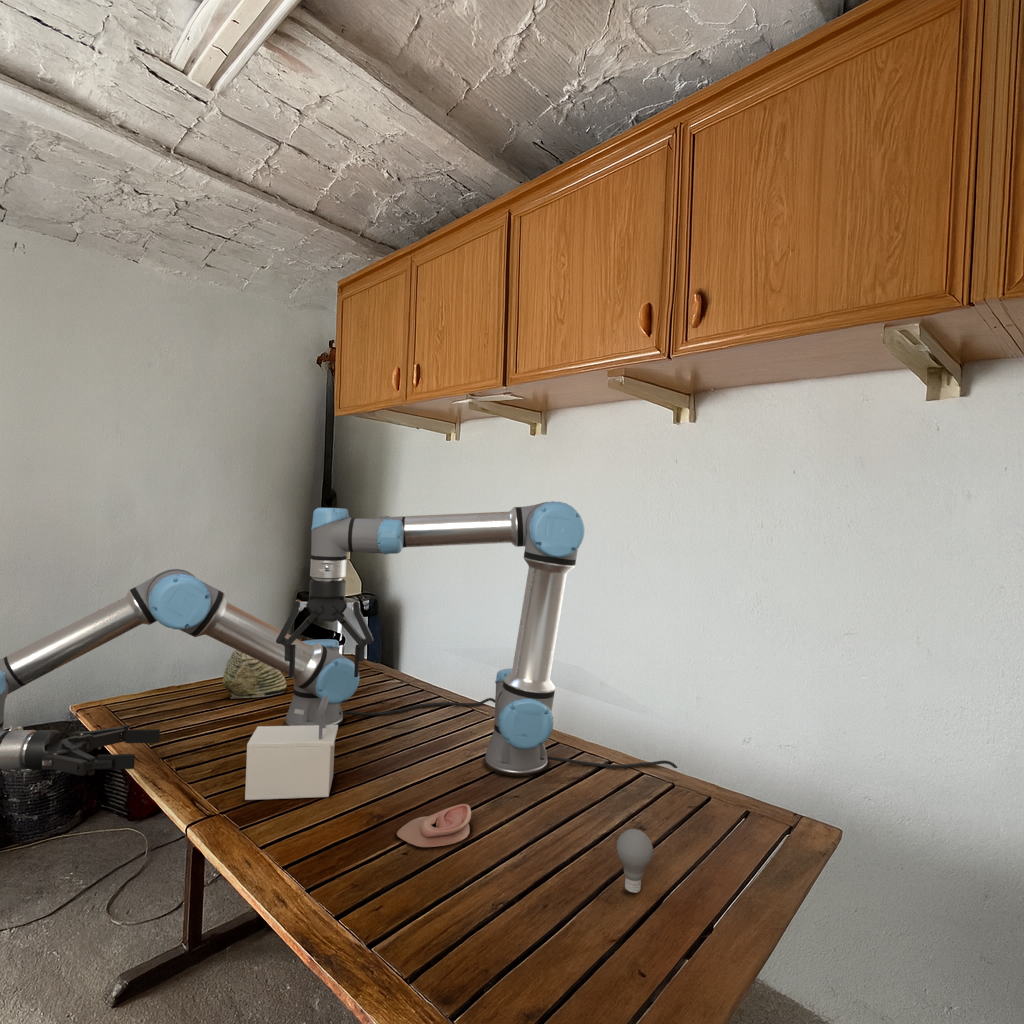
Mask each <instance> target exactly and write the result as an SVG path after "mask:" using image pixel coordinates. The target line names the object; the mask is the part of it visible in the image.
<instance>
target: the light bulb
mask: <svg viewBox="0 0 1024 1024" xmlns="http://www.w3.org/2000/svg"><path fill="white" fill-rule="evenodd" d="M615 849H616V854H617V857H618V859H619V861H620V863H621V865H622V867H623V873H624V874H623V875H624V876H625V878H624V888H625V890H627V891H628V892H630V893H634V894H635V893H639V892H640V891H641V889H642V887H641V886H642V879H643V877H644V875H645V871H646V868H647V867H648V866H649V864H650V863H651V861H652V859H653V855H654V847H653V843H652V841H651V838H649V836H648V835H647V834H646V833H645V832H643V831H642V830H641V829H636V828H629V829H627V830H625V831H623V832H622V833H621V834H620V835H619V837H618V839H617V841H616V847H615Z"/></svg>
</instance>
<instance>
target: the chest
mask: <svg viewBox="0 0 1024 1024" xmlns="http://www.w3.org/2000/svg"><path fill="white" fill-rule="evenodd" d="M335 743H336V742H335ZM335 743H334V746H308V747H268V748H247V747H246V760H245V761H246V762H245V763H246V765H245V766H246V767H245V787H244V788H245V790H244V791H245V792H244V801H257V800H279V799H280V800H281V799H307V798H309V799H310V798H329V796H330V794H331V793H330V792H331V788H332V784H333V779H334V766H335V763H334V762H335V745H336V744H335Z"/></svg>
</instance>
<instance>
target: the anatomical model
mask: <svg viewBox="0 0 1024 1024" xmlns="http://www.w3.org/2000/svg"><path fill="white" fill-rule="evenodd" d="M471 819H472V809H471V806H470V805H469V804H468V803H462V804H461V803H460V804H456V805H452V806H450V807H447V808H445V809H442V810H439V811H437V812H436V813H433V814H431V815H428V816H426V815H425V816H420V817H417V818H414V819H412V820H410V821H408V822H407V823H405V824H404V825H402V826H401V827H400V828H399V829H398V830H397V832H396V836H397V837H398V838H399V839H401V840H402V841H403V842H406V843H408V844H409V845H413V846H415V847H419V848H435V847H442V846H443V847H444V846H448V845H449V846H450V845H453V844H456V843H458V842H461V841H463V840H465V839H466V838H468V836H469V835H470V832H471V831H470V830H471V829H470V828H471V827H470V824H469V823H470V821H471Z"/></svg>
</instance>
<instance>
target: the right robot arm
mask: <svg viewBox="0 0 1024 1024" xmlns="http://www.w3.org/2000/svg"><path fill="white" fill-rule="evenodd" d="M310 530H311V541H310V542H311V550H310V551H311V553H310V569H309V577H310V578H311V579H310V580H309V593H308V594H309V596H308V601H303V600H301V599H296V600H295V601H294V602H293V604H292V611H291V613H290V614H289V616H288V618H287V619H286V622H285V624H284V626H283V627H282V628H281V629H280V630H281V632H280V634H279V636H278V638H277V639H276V643H277V644H282V645H284V647H285V656H284V659H285V661H289V675H288V678H289V679H291V678H292V679H293V676H294V674H295V648H296V645H292V643H293V642H294V641H295V640H296V639H299V637H300V636H301V635H302V634H303V632H304V631H305V630H306V629H307V628H308V627H309V626H310V625H311V624H312V623H313V622H314V621H316V622H318V623H323V622H328V623H333V622H336V621H337V622H338V623H339V624H340V625H341V626H342V627H343V629H345V631H346V632H347V633H348V634H349V635H350V637H351V638H352V639H353V640H354V641H355V643H356V644H355V648H354V650H355V651H354V664H355V669H354V677H358V673H359V674H360V671H359V668H360V662H364V660H365V652H366V651H365V649H366V646H367V645H372V644H373V642H374V636H373V634H372V632H371V630H370V628H369V625H368V624H367V622H366V620H365V617H364V615H363V613H362V610H361V605H360V604H361V603H360V600H358V599H356V600H354V601H348V602H347V599H346V586H347V583H346V579H344V578H346V577H347V562H348V559H347V558H348V556H347V554H348V553H365V554H383V555H390V554H391V555H392V554H393V555H396V554H397V555H398V554H400V553H401V552H402V551H403V549H404V548H421V547H422V548H423V547H424V548H425V547H445V546H446V547H447V546H467V545H469V546H470V545H492V544H493V545H494V544H495V545H496V544H512V545H513V546H514V547H515V548H519V547H520V548H521V547H524V552H523V560H524V561H525V563H526V564H527V566H528V570H527V574H526V575H527V576H526V581H525V589H524V595H523V602H522V608H521V612H520V613H521V614H520V620H519V624H518V625H519V626H518V632H517V638H516V645H515V651H514V655H513V656H514V657H513V663H512V668H504V669H499V670H498V671H497V672H496V677H495V680H494V681H495V682H494V684H495V698H494V699H495V703H494V720H493V722H494V723H493V724H494V725H493V732H492V736H491V738H490V741H489V743H488V746H487V749H486V751H485V756H484V764H485V766H486V767H487V768H488V769H489V770H490V771H492V772H494V773H496V774H499V775H503V776H508V777H518V778H519V777H521V778H522V777H531V776H535V775H538V774H541V773H543V772H544V771H545V770H547V768H548V762H549V761H548V760H550V761H557V762H564V763H570V764H575V765H576V764H577V765H583V766H590V767H600V768H612V769H623V768H625V769H626V768H636V767H644V766H645V767H647V766H657V765H663V764H664V765H669V766H671V767H673V768H674V769H678V766H677V765H676V764H675V763H674V762H672V761H670V760H664V759H663V760H656V761H646V762H643V761H642V762H635V763H634V762H633V763H625V764H624V763H623V764H613V763H611V764H610V763H600V762H591V761H585V760H584V761H583V760H577V759H570V758H563V757H557V756H550V755H548V752H547V749H546V746H545V743H546V742H547V741H548V740H549V738H551V735H552V732H553V729H554V716H553V713H552V712H553V706H554V699H555V692H556V686H555V684H554V683H553V681H552V680H551V676H552V675H551V674H552V669H553V668H552V667H553V662H554V656H555V655H554V654H555V649H556V644H557V637H558V632H559V626H560V620H561V619H560V618H561V611H562V606H563V601H564V593H565V587H566V582H567V575H568V573H569V572H570V571H572V570H573V569H574V568H575V567H576V562H577V557H578V550H579V549H580V547H581V545H582V543H583V541H584V538H585V524H584V521H583V518H582V516H581V515H580V513H579V512H578V510H577V509H575V507H573V506H571V504H568V503H566V502H562V501H554V500H553V501H552V500H551V501H544V502H541V503H537V504H531V505H527V506H513V507H512V508H511V509H510V510H509V511H492V512H490V511H489V512H470V513H469V512H468V513H449V514H448V513H445V514H444V513H443V514H423V515H406V516H401V515H400V516H388V515H386V516H385V515H384V516H379V517H377V518H356V517H350V515H349V510H348V509H347V508H341V507H340V508H339V507H316V509H314V510H313V513H312V522H311V528H310ZM304 608H306V609H307V610H308V612H309V616H307V618H306V619H305V620H304V621H303V622H302V623H301V624H300V626H299V627H298V628H297V629H295V631H294V632H293V633H292V634H290V635H291V636H290V637H289V638H288V639H287V638H285V636H286V634H289V633H288V632H289V631H290V630H291V627H292V625H293V624H294V623H295V620H296V618H297V616H298V615H299V613H300V612H302V611H303V610H304ZM347 608H348V609H349V610H350V612H351V613H352V612H353V614H354V617H355V619H356V621H357V623H358V626H359V627H360V631H362V634H363V636H364V638H363V636H362V635H361V634H360V633H359V631H358V630H357V629H356V628H355V626H353V624H352V623H351V621H350V620H349V619H348V618H347V616H346V615H345V614H344V612H345V611H346V609H347Z"/></svg>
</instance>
